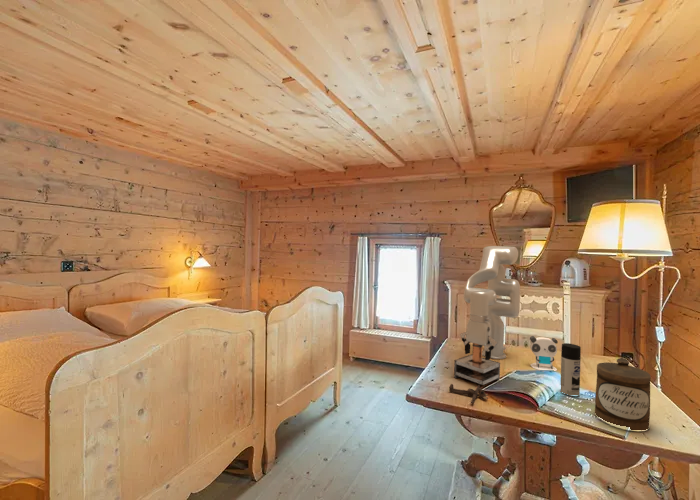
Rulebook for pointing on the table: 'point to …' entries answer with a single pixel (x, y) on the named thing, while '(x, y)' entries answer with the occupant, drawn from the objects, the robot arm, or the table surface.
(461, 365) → the frame
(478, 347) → the tube
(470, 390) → the bear figurine
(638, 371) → the wooden container
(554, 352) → the panda figurine
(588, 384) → the table surface
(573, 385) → the spray can
